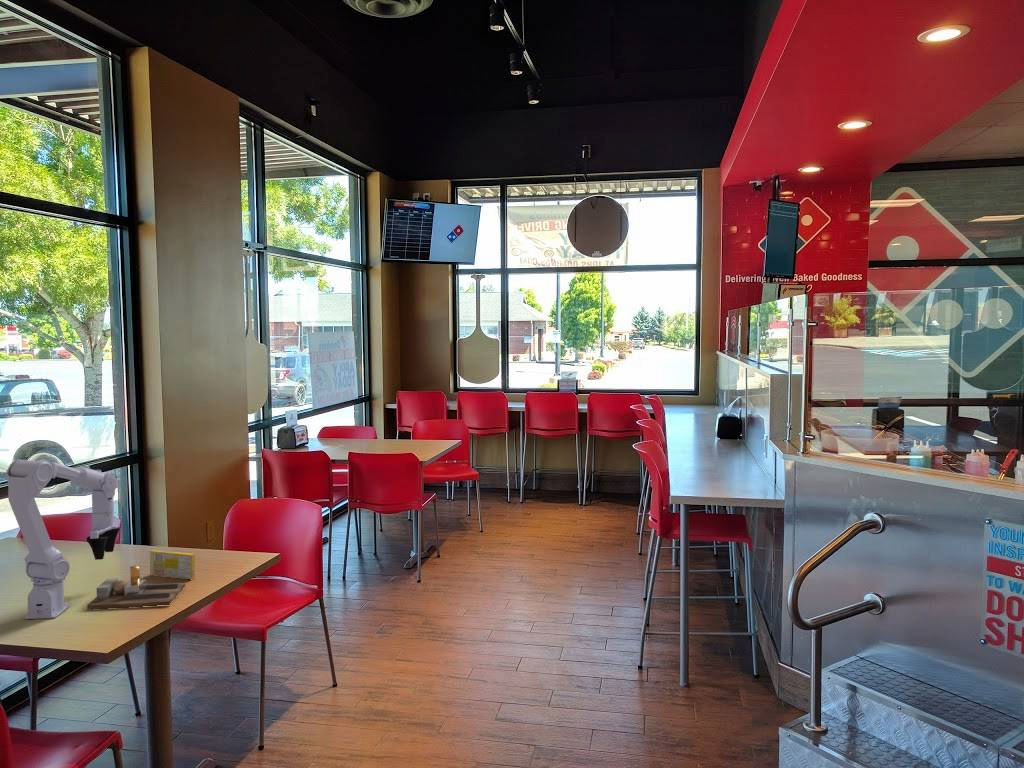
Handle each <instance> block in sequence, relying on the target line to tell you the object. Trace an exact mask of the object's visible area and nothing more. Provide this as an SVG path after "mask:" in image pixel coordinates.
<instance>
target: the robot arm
mask: <svg viewBox="0 0 1024 768" xmlns="http://www.w3.org/2000/svg"><path fill="white" fill-rule="evenodd" d="M4 476H5V479H6V480H7V485H8V491H7V493H8V495H7V497H8V498H7V499H8V501H9V505H10V507H11V510H12V512H13V515H14V517H15V520H16V521H17V525H18V527H19V529H20V532H21V536H22V537H23V540H24V542H25V545H26V547H27V550H28V552H29V553H28V554H27V555H26V556H25V557H24V559H23V560H24V561H25V574H26V576H27V577H29V578H30V582H31V583H32V589H31V590H30V591H29V593H28V595H27V615H25V616H24V620H32V619H36V620H37V619H38V620H39V619H53V618H54V619H55V618H57V617H58V616H59V615H61V614H62V613H63V612H65V610H67V609H68V608H69V607H70V606H71V603H65V596H64V595H65V594H64V593H65V590H64V580H66V578H67V576H68V574H69V573H70V568H71V565H70V562H69V560H68V559H66V558H65V557H64V555H63V552H61V551H60V550H59V549H57V548H56V547H55V546H53V543H52V541H51V539H50V536H49V533H48V531H47V527H46V525H45V522H44V520H43V518H42V514H41V512H40V509H39V507H38V504H37V502H36V499H35V498H36V496H38V495H40V493H41V492H42V491H43V489H44V488H45V487H46V486H47V485H48V484H49V482H50V481H51V479H56V477H57V478H61V479H66V480H69V481H70V484H72V485H73V486H75V487H79V488H84V489H87V490H88V491H89V492H91V506H92V507H91V511H92V516H91V517H92V527H91V531H90V532H89V533H90V534H89V536H86V539H85V540H86V542H87V543H88V544H89V546H90V549H91V551H92V554H93V556H94V560H95V561H96V560H98V561H99V560H104V557H105V553H113V552H114V550H115V545H116V541H117V537H118V534H119V533H120V531H121V528H120V527H119V525H118V524H117V520H116V519H115V516H114V515H115V512H114V511H115V510H114V509H115V507H114V503H115V502H114V497H115V495H116V489H117V487H118V485H119V484H118V483H119V481H118V480H117V477H116V476H115V475H114V474H113V473H108V472H106V473H105V472H102V470H101V469H92V468H90V466H89V465H82V466H78V467H75V468H73V467H70V466H68V465H67V466H66V465H65V464H64V465H63V464H61V463H58V462H54V461H53V462H52V461H47V460H27V459H22V458H21V459H20V458H19V459H16V460H13V461H12V462H11V463H10V464H9V465H8V468H7V469H6V472H5V473H4Z"/></svg>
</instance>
